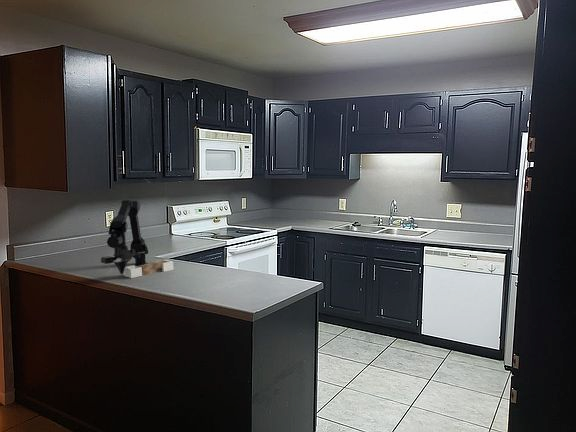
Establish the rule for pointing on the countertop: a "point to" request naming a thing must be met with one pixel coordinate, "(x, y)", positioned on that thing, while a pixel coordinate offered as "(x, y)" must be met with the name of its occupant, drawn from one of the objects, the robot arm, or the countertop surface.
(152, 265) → the brown bar
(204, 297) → the countertop surface
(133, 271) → the cap
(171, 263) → the cap
